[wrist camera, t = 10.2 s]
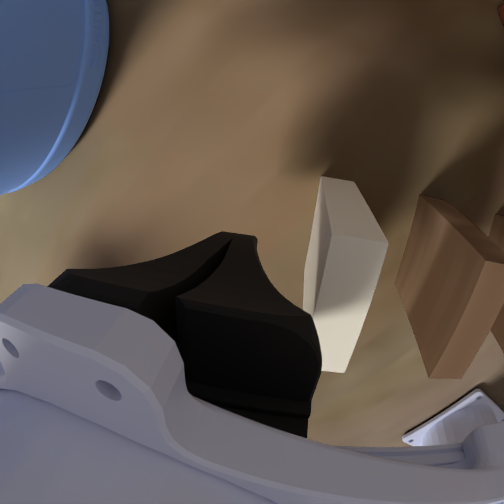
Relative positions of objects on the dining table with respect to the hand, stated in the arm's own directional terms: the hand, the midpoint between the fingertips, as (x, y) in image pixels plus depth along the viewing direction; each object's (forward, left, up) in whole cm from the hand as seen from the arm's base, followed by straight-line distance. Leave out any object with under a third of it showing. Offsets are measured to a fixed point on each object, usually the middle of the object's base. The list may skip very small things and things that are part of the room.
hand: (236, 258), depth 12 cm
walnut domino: (-7, -5, -4) cm, 10 cm away
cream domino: (-3, -2, -4) cm, 6 cm away
